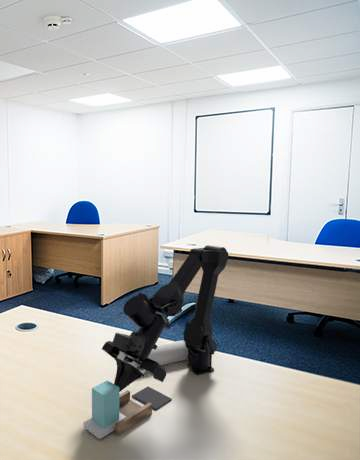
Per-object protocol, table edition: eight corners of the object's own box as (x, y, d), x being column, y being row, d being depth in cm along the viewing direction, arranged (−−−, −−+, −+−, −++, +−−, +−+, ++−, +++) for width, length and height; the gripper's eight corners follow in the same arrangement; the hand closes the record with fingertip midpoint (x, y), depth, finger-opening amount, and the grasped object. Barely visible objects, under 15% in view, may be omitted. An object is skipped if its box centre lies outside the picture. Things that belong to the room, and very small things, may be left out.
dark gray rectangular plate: (147, 387, 99) (147, 386, 99) (171, 400, 94) (171, 398, 94) (132, 396, 95) (132, 395, 95) (156, 410, 89) (156, 408, 89)
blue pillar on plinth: (111, 411, 87) (111, 376, 86) (127, 421, 84) (127, 385, 83) (83, 427, 81) (83, 390, 80) (99, 439, 78) (99, 400, 77)
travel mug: (141, 368, 105) (199, 355, 114) (136, 346, 108) (193, 336, 117) (135, 373, 110) (191, 361, 119) (131, 352, 113) (186, 342, 122)
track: (127, 398, 94) (127, 390, 93) (152, 413, 88) (152, 403, 88) (93, 418, 85) (93, 408, 85) (118, 435, 79) (118, 425, 79)
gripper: (107, 311, 92) (70, 366, 85) (159, 329, 80) (121, 395, 73) (129, 331, 99) (97, 383, 92) (180, 351, 87) (148, 413, 80)
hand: (114, 393), depth 84 cm, fingers closed, pressing on blue pillar on plinth
